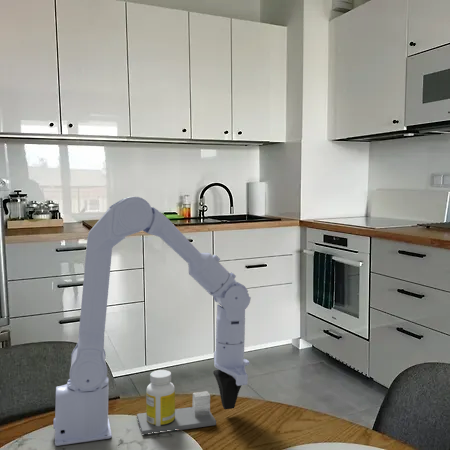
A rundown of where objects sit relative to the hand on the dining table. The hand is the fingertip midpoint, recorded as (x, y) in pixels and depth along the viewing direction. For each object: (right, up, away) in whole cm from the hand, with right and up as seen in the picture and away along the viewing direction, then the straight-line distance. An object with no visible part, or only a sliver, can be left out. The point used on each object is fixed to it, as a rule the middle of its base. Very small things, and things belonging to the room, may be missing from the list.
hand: (228, 407), depth 90 cm
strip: (-10, -2, -3) cm, 11 cm away
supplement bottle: (-13, -2, -4) cm, 14 cm away
